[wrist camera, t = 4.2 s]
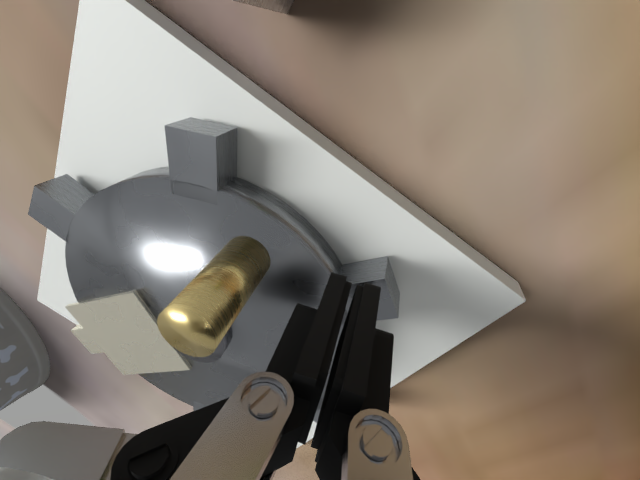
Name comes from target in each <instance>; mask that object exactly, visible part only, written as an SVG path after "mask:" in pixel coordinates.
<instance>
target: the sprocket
mask: <svg viewBox="0 0 640 480" xmlns="http://www.w3.org/2000/svg"><path fill="white" fill-rule="evenodd" d="M164 126H165V136H166V145H167V155H168V165H169V167H159V168H155V169H150V170H146V171H143V172H140V173H138V174H136V175H134V176H131V177H129V178H127V179H125V180H122V181H120V182H118V183H116V184H114V185H111V186H109V187H107V188H105V189H103V190H100V191H99V192H97V193H96V194H95V195H94V194H93V193H92V192H91V191H89V190H88V189H87V188H85V187H84V186H83V185H81V184H80V183H79V182H77V181H76V180H75V179H73V178H72V177H71V176H69V175H68V174H65V175H63V176H60V177H57V178H54V179H51V180H49V181H46V182H43V183H40V184H38V185H35V186H34V190H33V194H32V199H31V203H30V208H29V212H28V215H30V216H31V217H32V218H34V219H35V220H37V221H38V222H39V223H41V224H42V225H44V226H45V227H46V228H48V229H49V230H50V231H52V232H53V233H55V234H56V235H57V236H59V237H60V238H62V239H63V240H64V241H66V246H65V259H66V268H67V273H68V277H69V281H70V284H71V287H72V290H73V293H74V295H75V297H76V299H77V301H78V302H77V303H72V304H68V305H67V306H66V309H67V310H68V311H69V312H70V313H71V315H72V316H73V317H74V318H75V319H76V320H77V322H78V323H79V324H78V325H77V326H76V327H74V328H73V329H72V330H71V332H72V333H73V334H74V335H75V336H76V337H77V338H78V340H79V341H80V342H81V343H82V344H83V345H84V346H85V348H86V349H87V350H88V351H89V352H90V353H91V354H96V353H105V354H106V356H107V357H108V358H109V359H110V360H111V361H112V363H113V364H114V365H115V366H116V367H117V368H118V370H119V371H120V372H121V373H122V374H123V375H130V374H139V375H140V376H142V377H143V378H144V379H146V380H147V381H149V382H150V383H152V384H153V385H155V386H156V387H158V388H159V389H161V390H162V391H164V392H166V393H168V394H169V395H171V396H173V397H175V398H177V399H179V400H181V401H183V402H185V403H187V404H189V405H191V406H193V409H194V411H196V410H198V409H201V408H203V407H206V406H208V405H211V404H214V403H216V402H219V401H221V400H224V399H226V398H229V397H230V396H231V395H232V393H233V392H234V391H235V389H236V388H237V387H238V385H239V384H240V383H241V382H242V381H243V380H244V379H245V378H246V377H248V376H250V375H251V374H253V373H258V372H265V371H266V369H267V367H268V365H269V363H270V361H271V358H272V356H273V354H274V352H275V350H276V348H277V345H278V343H279V341H280V339H281V337H282V334H283V332H284V330H285V328H286V326H287V324H288V321H289V319H290V317H291V315H292V313H293V311H294V308H295V306H296V305H297V303H299V304H302V305H305V306H308V307H312V308H315V309H318V307H319V304H320V301H321V299H322V296H323V293H324V291H325V288H326V285H327V283H328V280H329V277H330V274H331V272H334V273H337V274H340V275H343V276H346V277H347V279H346V281H348V282H351V283H352V286H351V289H350V293H349V297H348V301H347V304H346V308H345V312H344V316H343V320H342V323H341V327H340V331H339V335H338V338H337V342H336V346H335V350H334V353H333V357H332V361H331V365H330V369H329V372H328V376H327V379H326V383H325V386H324V389H323V392H322V395H321V398H320V401H319V404H318V407H317V410H316V413H315V416H314V419H313V421H315V422H316V423H317V421H318V417H319V413H320V409H321V406H322V402H323V398H324V394H325V390H326V386H327V383H328V379H329V375H330V371H331V367H332V363H333V359H334V356H335V352H336V348H337V344H338V341H339V338H340V335H341V332H342V329H343V326H344V323H345V320H346V317H347V314H348V311H349V308H350V304H351V301H352V298H353V295H354V292H355V289H356V286H357V285H361V286H363V285H364V283H365V282H366V283H369V284H372V285H376V286H379V287H381V292H380V299H379V306H378V313H377V321H378V320H387V319H395V318H398V316H399V301H400V291H399V288H398V285H397V282H396V279H395V276H394V273H393V270H392V267H391V264H390V261H389V258H388V256H385V257H379V258H374V259H369V260H364V261H358V262H353V263H348V264H343V265H342V263H341V261H340V260H339V258H338V256H337V255H336V253H335V252H334V250H333V249H332V248H331V246H330V245H329V244H328V243H327V241H326V240H325V239H324V237H323V236H322V235H321V234H320V233H319V232H318V231H317V230H316V229H315V228H314V227H313V226H312V225H311V224H310V223H309V222H308V221H307V220H306V219H305V218H304V217H303V216H302V215H300V214H299V213H298V212H297V211H295V210H294V209H293V208H292V207H290V206H289V205H288V204H287V203H285V202H284V201H282V200H280V199H279V198H277V197H276V196H274V195H273V194H271V193H269V192H268V191H266V190H264V189H262V188H260V187H258V186H256V185H254V184H252V183H250V182H248V181H246V180H244V179H241V178H238V177H237V127H234V126H230V125H225V124H220V123H216V122H211V121H207V120H202V119H197V118H193V117H190V118H187V119H183V120H180V121H177V122H174V123H170V124H167V125H164Z"/></svg>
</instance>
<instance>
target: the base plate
mask: <svg viewBox="0 0 640 480" xmlns="http://www.w3.org/2000/svg"><path fill="white" fill-rule="evenodd" d="M190 117H193V118H197V119H202V120H207V121H211V122H216V123H220V124H225V125H230V126H234V127H237V177H238V178H241V179H244V180H246V181H248V182H250V183H252V184H254V185H256V186H258V187H260V188H262V189H264V190H266V191H268V192H269V193H271V194H273V195H274V196H276V197H277V198H279V199H280V200H282V201H284V202H285V203H287V204H288V205H289V206H290V207H292V208H293V209H294V210H295V211H297V212H298V213H299V214H300V215H302V216H303V217H304V218H305V219H306V220H307V221H308V222H309V223H310V224H311V225H312V226H313V227H314V228H315V229H316V230H317V231H318V232H319V233H320V234H321V235H322V236H323V237H324V239H325V240H326V241H327V243H328V244H329V245H330V246H331V248H332V249H333V250H334V252H335V253H336V255H337V256H338V258H339V260H340V261H341V263H342V265H343V264H348V263H353V262H358V261H364V260H369V259H374V258H379V257H385V256H388V258H389V261H390V264H391V267H392V270H393V273H394V276H395V279H396V282H397V285H398V288H399V291H400V301H399V316H398V318H395V319H387V320H378V321H376V329H380V330H383V331H386V332H389V333H392V334H393V335H394V343H393V357H392V371H391V385H390V388H391V387H393V386H394V385H396V384H397V383H399V382H401V381H402V380H404V379H405V378H407V377H408V376H410V375H411V374H413V373H415V372H416V371H418V370H419V369H421V368H422V367H424V366H425V365H427V364H429V363H430V362H432V361H433V360H435V359H436V358H438V357H439V356H441V355H443V354H444V353H446V352H447V351H449V350H450V349H452V348H453V347H455V346H457V345H458V344H460V343H461V342H463V341H464V340H466V339H467V338H469V337H471V336H472V335H474V334H475V333H477V332H478V331H480V330H481V329H483V328H485V327H486V326H488V325H489V324H491V323H492V322H494V321H496V320H497V319H499V318H500V317H502V316H503V315H505V314H506V313H508V312H510V311H511V310H513V309H514V308H516V307H517V306H519V305H520V304H522V303H524V302H525V301H526V299H525V297H524V294H523V292H522V290H521V288H520V285H519V283H518V282H517V281H516V280H515V279H513V278H512V277H511V276H509V275H508V274H507V273H505V272H504V271H503V270H501V269H500V268H499V267H498V266H496V265H495V264H494V263H492V262H491V261H490V260H488V259H487V258H486V257H484V256H483V255H482V254H480V253H479V252H478V251H476V250H475V249H474V248H472V247H471V246H470V245H468V244H467V243H466V242H464V241H463V240H462V239H460V238H459V237H458V236H456V235H455V234H454V233H452V232H451V231H450V230H448V229H447V228H446V227H444V226H443V225H442V224H441V223H439V222H438V221H437V220H435V219H434V218H433V217H431V216H430V215H429V214H427V213H426V212H425V211H423V210H422V209H421V208H419V207H418V206H417V205H415V204H414V203H413V202H411V201H410V200H409V199H407V198H406V197H405V196H403V195H402V194H401V193H399V192H398V191H397V190H395V189H394V188H393V187H391V186H390V185H389V184H388V183H386V182H385V181H384V180H382V179H381V178H380V177H378V176H377V175H376V174H374V173H373V172H372V171H370V170H369V169H368V168H366V167H365V166H364V165H362V164H361V163H360V162H358V161H357V160H356V159H354V158H353V157H352V156H350V155H349V154H348V153H346V152H345V151H344V150H342V149H341V148H340V147H338V146H337V145H336V144H334V143H333V142H332V141H331V140H329V139H328V138H327V137H325V136H324V135H323V134H321V133H320V132H319V131H317V130H316V129H315V128H313V127H312V126H311V125H309V124H308V123H307V122H305V121H304V120H303V119H301V118H300V117H299V116H297V115H296V114H295V113H293V112H292V111H291V110H289V109H288V108H287V107H285V106H284V105H283V104H281V103H280V102H279V101H277V100H276V99H275V98H274V97H272V96H271V95H270V94H268V93H267V92H266V91H264V90H263V89H262V88H260V87H259V86H258V85H256V84H255V83H254V82H252V81H251V80H250V79H248V78H247V77H246V76H244V75H243V74H242V73H240V72H239V71H238V70H236V69H235V68H234V67H232V66H231V65H230V64H228V63H227V62H226V61H224V60H223V59H222V58H220V57H219V56H218V55H217V54H215V53H214V52H213V51H211V50H210V49H209V48H207V47H206V46H205V45H203V44H202V43H201V42H199V41H198V40H197V39H195V38H194V37H193V36H191V35H190V34H189V33H187V32H186V31H185V30H183V29H182V28H181V27H179V26H178V25H177V24H175V23H174V22H173V21H171V20H170V19H169V18H167V17H166V16H165V15H163V14H162V13H161V12H160V11H158V10H157V9H156V8H154V7H153V6H152V5H150V4H149V3H148V2H146V1H145V0H80V2H79V9H78V16H77V23H76V30H75V37H74V44H73V51H72V58H71V65H70V72H69V79H68V86H67V93H66V100H65V108H64V115H63V122H62V129H61V136H60V143H59V150H58V157H57V164H56V171H55V178H57V177H60V176H63V175H65V174H68V175H69V176H71V177H72V178H73V179H75V180H76V181H77V182H79V183H80V184H81V185H83V186H84V187H85V188H87V189H88V190H89V191H91V192H92V193H93V194H94V195H95V194H96V193H97V192H99V191H100V190H103V189H105V188H107V187H109V186H111V185H114V184H116V183H118V182H120V181H122V180H125V179H127V178H129V177H131V176H134V175H136V174H138V173H140V172H143V171H146V170H150V169H155V168H159V167H169V165H168V155H167V145H166V136H165V126H164V125H167V124H170V123H174V122H177V121H180V120H183V119H187V118H190ZM65 246H66V241H64V240H63V239H62V238H60V237H59V236H57V235H56V234H55V233H53V232H52V231H50V230H49V229H48V228H47V234H46V241H45V248H44V256H43V263H42V270H41V277H40V284H39V291H38V298H37V300H38V301H39V302H41V303H43V304H44V305H46V306H47V307H49V308H51V309H52V310H54V311H55V312H57V313H59V314H60V315H62V316H63V317H65V318H67V319H68V320H70V321H71V322H73V323H75V324H76V325H78V324H79V323H78V322H77V320H76V319H75V318H74V317H73V316H72V315H71V313H70V312H69V311H68V310H67V309H66V306H67V305H68V304H72V303H77V302H78V301H77V299H76V297H75V295H74V293H73V290H72V287H71V284H70V281H69V277H68V273H67V268H66V259H65ZM316 425H317V423H316V422H315V421H313V422H312V425H311V429H310V432H309V435H308V438H307V441H309V440H310V439H312V438H313V436H314V433H315V429H316ZM307 441H306V442H307ZM301 445H303V444H302V443H299V442H298V444H297V447H296V448H298V447H299V446H301Z"/></svg>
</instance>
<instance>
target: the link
mask: <svg viewBox="0 0 640 480" xmlns="http://www.w3.org/2000/svg"><path fill="white" fill-rule="evenodd" d="M233 1H237V2H241V3H245V4H249V5H252V6H256V7H260V8H264V9H268V10H272V11H276V12H280V13H284V14H288V13H289V11H290V9H291V6H292V4H293V2H294V0H233Z"/></svg>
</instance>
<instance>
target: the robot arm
mask: <svg viewBox="0 0 640 480" xmlns="http://www.w3.org/2000/svg"><path fill="white" fill-rule="evenodd" d="M346 279H347V277H346V276H343V275H340V274H337V273H334V272H331V274H330V277H329V280H328V283H327V285H326V288H325V291H324V293H323V296H322V299H321V301H320V304H319V307H318V309H315V308H312V307H308V306H305V305H302V304H299V303H297V305H296V306H295V308H294V311H293V313H292V315H291V317H290V319H289V321H288V324H287V326H286V328H285V330H284V332H283V334H282V337H281V339H280V341H279V343H278V345H277V348H276V350H275V352H274V354H273V356H272V358H271V361H270V363H269V365H268V367H267V369H266V371H265V372H258V373H253V374H251V375H250V376H248V377H246V378H245V379H244V380H243V381H242V382H241V383H240V384H239V385H238V387H237V388H236V389H235V391H234V392H233V393H232V395H231V396H230V397H229V398H226V399H224V400H221V401H219V402H216V403H214V404H211V405H208V406H206V407H203V408H201V409H198V410H196V411H193V412H191V413H188V414H186V415H183V416H181V417H178V418H175V419H173V420H170V421H168V422H165V423H163V424H160V425H158V426H155V427H153V428H150V429H148V430H145V431H143V432H141V433H139V434H130V433H125V430H124V429H116V428H106V427H96V426H85V425H76V424H65V423H55V422H45V421H43V422H31V423H29V424H26V425H23V426H20V427H18V428H16V429H15V430H13V431H11V432H10V433H8V434H7V435H5V436H4V437H3V438H2V439H1V440H0V480H272V479H273V477H274V475H275V472H276V470H277V469H279V468H281V467H283V466H284V465H286V464H288V463H290V462H292V460H293V457H294V454H295V450H296V447H297V444H298V442H299V443H302V444H306V441H307V438H308V435H309V432H310V429H311V425H312V422H313V419H314V416H315V413H316V410H317V407H318V404H319V401H320V398H321V395H322V392H323V389H324V386H325V383H326V379H327V376H328V372H329V369H330V365H331V361H332V357H333V353H334V350H335V346H336V342H337V338H338V335H339V331H340V327H341V323H342V320H343V316H344V312H345V308H346V304H347V301H348V297H349V293H350V289H351V286H352V283H351V282H348V281H346ZM380 292H381V287H379V286H376V285H372V284H369V283H366V282H365V283H364V285H363V286H361V285H357V286H356V289H355V292H354V295H353V298H352V301H351V304H350V308H349V311H348V314H347V317H346V320H345V323H344V326H343V329H342V332H341V335H340V338H339V341H338V344H337V348H336V352H335V356H334V359H333V363H332V367H331V371H330V375H329V379H328V383H327V386H326V390H325V394H324V398H323V402H322V406H321V409H320V413H319V417H318V421H317V425H316V429H315V433H314V436H313V440H312V444H311V447H313V448H316V449H318V450H317V454H316V459H315V462H317V464H316V468H315V471H316V473H317V475H318V477H319V479H320V480H420V478H419V477H418V475H417V474H416V472H415V471H414V470H413V468H412V467H411V459H410V451H409V444H408V440H407V436H406V434H405V432H404V430H403V428H402V426H401V425H400V424H399V423H398V422H397V421H396V419H395V418H394V417H392V416H391V415H389V400H390V385H391V371H392V357H393V343H394V335H393V334H392V333H389V332H386V331H383V330H380V329H376V321H377V313H378V306H379V299H380Z"/></svg>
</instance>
